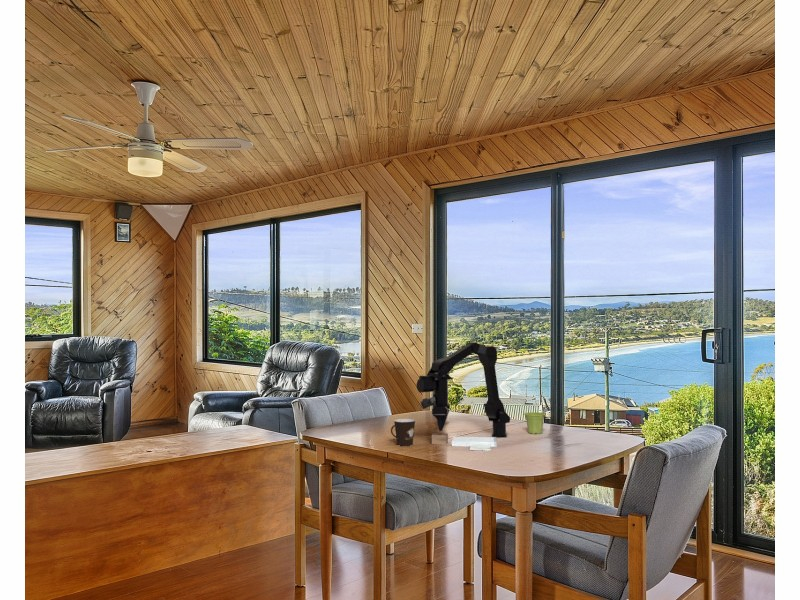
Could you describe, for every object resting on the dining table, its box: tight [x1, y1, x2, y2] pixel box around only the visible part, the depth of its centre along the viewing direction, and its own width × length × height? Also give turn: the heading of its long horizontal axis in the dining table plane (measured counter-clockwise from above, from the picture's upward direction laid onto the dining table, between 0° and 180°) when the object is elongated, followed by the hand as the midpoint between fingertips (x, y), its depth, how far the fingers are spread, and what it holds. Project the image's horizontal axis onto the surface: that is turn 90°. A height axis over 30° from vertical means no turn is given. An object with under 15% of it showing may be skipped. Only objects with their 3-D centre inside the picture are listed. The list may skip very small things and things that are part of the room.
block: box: [431, 432, 449, 446], centre depth 255 cm, size 5×6×4 cm
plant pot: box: [523, 411, 546, 435], centre depth 277 cm, size 9×9×9 cm
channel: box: [451, 436, 498, 448], centre depth 253 cm, size 10×18×2 cm, turn 82°
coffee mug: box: [390, 418, 416, 447], centre depth 252 cm, size 12×9×10 cm
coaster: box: [469, 445, 492, 452], centre depth 243 cm, size 8×8×1 cm
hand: (441, 428), depth 255 cm, fingers open, 9 cm apart
